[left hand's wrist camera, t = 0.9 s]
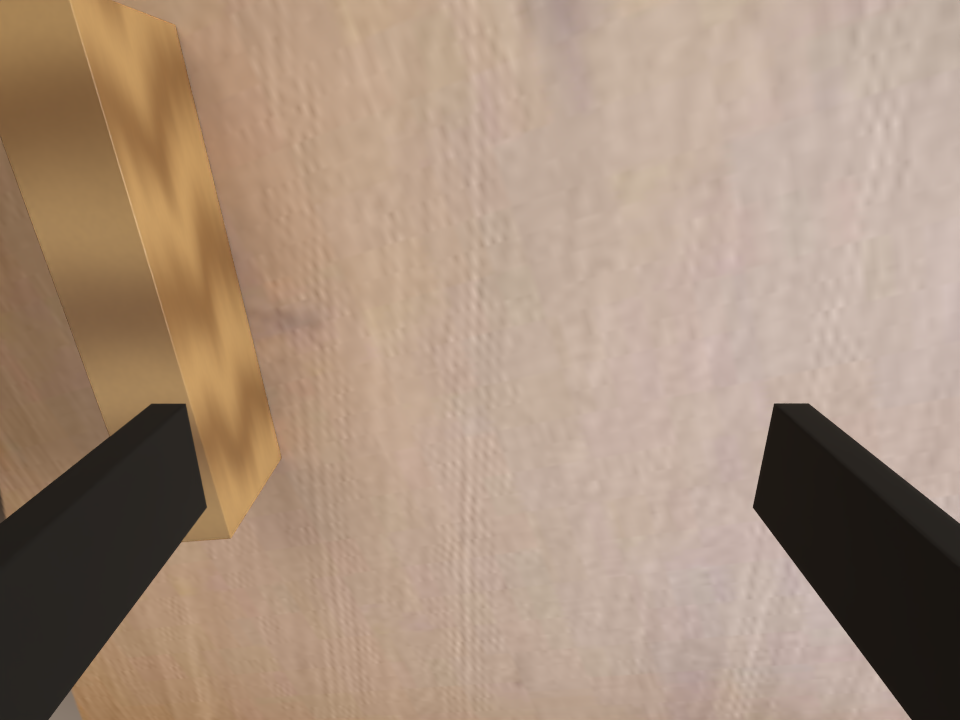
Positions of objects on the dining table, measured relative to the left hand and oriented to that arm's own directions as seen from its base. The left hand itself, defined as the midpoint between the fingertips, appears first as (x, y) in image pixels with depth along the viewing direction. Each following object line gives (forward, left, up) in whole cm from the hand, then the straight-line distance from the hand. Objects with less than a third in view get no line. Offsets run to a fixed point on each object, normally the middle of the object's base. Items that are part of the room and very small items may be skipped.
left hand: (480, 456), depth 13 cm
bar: (+3, -16, -22) cm, 27 cm away
